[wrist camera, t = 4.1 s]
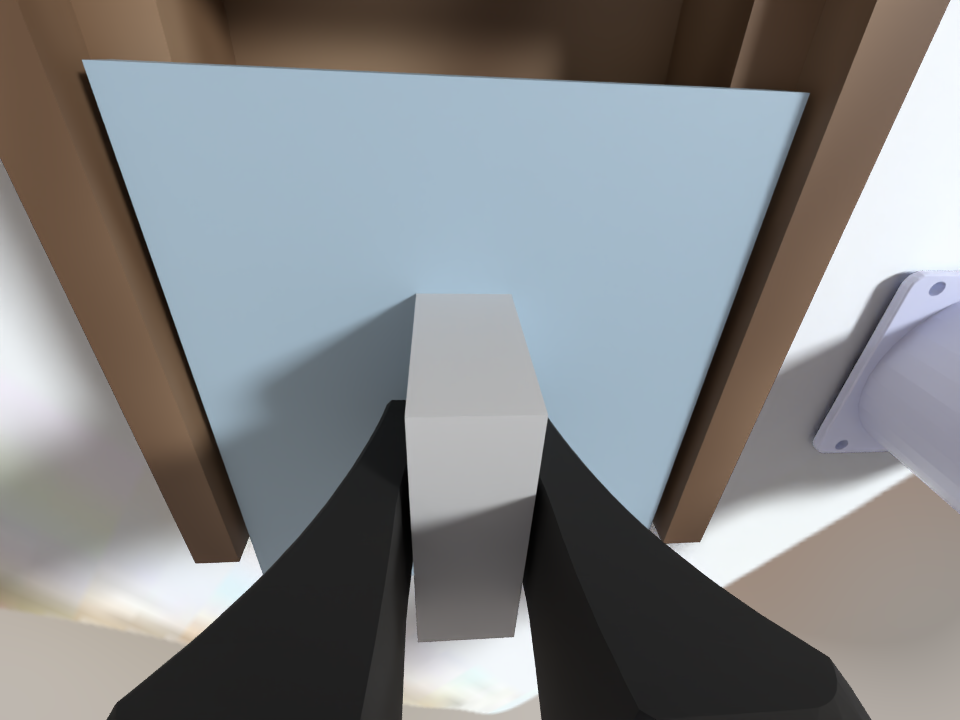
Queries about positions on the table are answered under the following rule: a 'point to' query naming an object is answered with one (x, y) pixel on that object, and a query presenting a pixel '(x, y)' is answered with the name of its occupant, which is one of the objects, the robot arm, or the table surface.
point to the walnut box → (448, 51)
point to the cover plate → (443, 284)
